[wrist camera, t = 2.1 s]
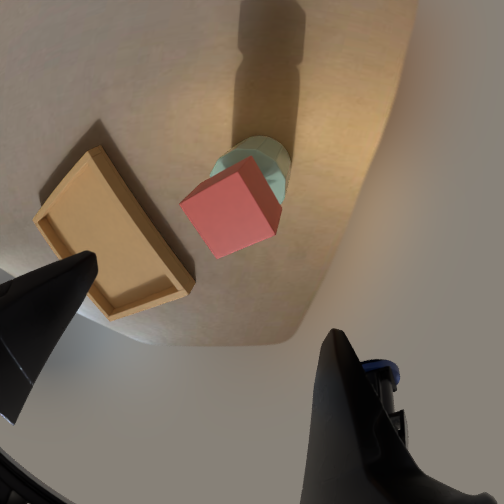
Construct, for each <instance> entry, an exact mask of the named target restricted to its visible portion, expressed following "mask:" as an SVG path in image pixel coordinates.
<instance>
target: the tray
mask: <svg viewBox="0 0 504 504" xmlns="http://www.w3.org/2000/svg"><path fill="white" fill-rule="evenodd" d="M33 222H34V223H35V225H36V226H37V228H38V230H39V231H40V233H41V234H42V236H43V237H44V239H45V240H46V241H47V243H48V244H49V246H50V247H51V249H52V250H53V252H54V253H55V254H56V256H57V257H58V259H59V260H61V259H64V258H67V257H69V256H72V255H74V254H77V253H80V252H82V251H85V250H89V251H91V252H94V253H95V254H96V256H97V263H98V275H97V277H96V279H95V280H94V282H93V284H92V286H91V287H90V289H89V291H88V293H87V296H88V297H89V298H90V299H91V300H92V302H93V303H94V304H95V305H96V306H97V307H98V309H99V310H100V311H101V312H102V313H103V314H104V315H105V317H106V318H107V319H108V320H109V321H113V320H116V319H119V318H122V317H125V316H128V315H131V314H134V313H137V312H140V311H143V310H146V309H149V308H152V307H155V306H158V305H161V304H164V303H167V302H170V301H173V300H176V299H178V298H181V297H184V296H187V295H189V294H190V292H191V290H192V288H193V287H194V285H195V283H196V282H195V281H194V279H193V278H192V277H191V275H190V274H189V273H188V271H187V270H186V269H185V267H184V266H183V265H182V263H181V262H180V261H179V259H178V258H177V257H176V255H175V254H174V253H173V251H172V250H171V248H170V247H169V246H168V244H167V243H166V242H165V240H164V239H163V237H162V236H161V235H160V233H159V232H158V230H157V229H156V228H155V226H154V225H153V223H152V222H151V220H150V219H149V218H148V216H147V215H146V213H145V212H144V210H143V209H142V208H141V206H140V205H139V203H138V202H137V200H136V199H135V197H134V196H133V194H132V193H131V191H130V190H129V188H128V187H127V185H126V184H125V182H124V181H123V179H122V178H121V176H120V175H119V173H118V171H117V170H116V168H115V167H114V165H113V164H112V162H111V161H110V159H109V157H108V156H107V154H106V153H105V151H104V149H103V148H102V146H101V145H100V146H97V147H95V148H93V149H90V150H88V151H87V152H86V153H85V154H84V155H83V156H82V157H81V158H80V160H79V161H78V162H77V163H76V164H75V165H74V166H73V168H72V169H71V170H70V171H69V172H68V173H67V175H66V176H65V177H64V178H63V180H62V181H61V182H60V183H59V184H58V186H57V187H56V188H55V190H54V191H53V192H52V193H51V195H50V196H49V197H48V199H47V200H46V201H45V203H44V204H43V205H42V207H41V208H40V210H39V211H38V212H37V214H36V215H35V217H34V218H33Z"/></svg>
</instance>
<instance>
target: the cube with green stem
mask: <svg viewBox="0 0 504 504" xmlns="http://www.w3.org/2000/svg"><path fill="white" fill-rule="evenodd" d="M179 205H180V206H181V208H182V209H183V211H184V212H185V214H186V215H187V217H188V218H189V220H190V221H191V223H192V224H193V226H194V227H195V228H196V230H197V231H198V233H199V234H200V236H201V237H202V239H203V240H204V242H205V243H206V244H207V246H208V247H209V249H210V250H211V252H212V253H213V254H214V256H215V257H216V259H218V258H221V257H223V256H226V255H228V254H231V253H233V252H235V251H238V250H240V249H243V248H245V247H248V246H250V245H253V244H255V243H257V242H260V241H262V240H265V239H267V238H270V237H272V236H275V235H276V232H277V228H278V224H279V220H280V216H281V212H282V207H281V205H280V204H279V202H278V200H277V198H276V197H275V195H274V193H273V191H272V189H271V188H270V186H269V184H268V183H267V181H266V179H265V177H264V176H263V174H262V172H261V170H260V169H259V167H258V165H257V164H256V162H255V160H254V158H253V157H252V156H249V157H247V158H245V159H243V160H241V161H240V162H238V163H236V164H234V165H232V166H230V167H228V168H227V169H225V170H223V171H221V172H219V173H218V174H216V175H214V176H212V177H211V178H209V179H207V180H205V181H204V182H202V183H200V184H199V185H198V186H197V187H196V188H195V189H194V190H193V191H192V192H191V193H190V194H189V195H188V196H187V197H186V198H185V199H183V200H182V201H181V202H180V203H179Z"/></svg>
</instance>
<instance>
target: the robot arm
mask: <svg viewBox="0 0 504 504" xmlns="http://www.w3.org/2000/svg"><path fill="white" fill-rule="evenodd" d="M97 275H98V263H97V256H96V254H95V253H94V252H91V251H89V250H85V251H82V252H80V253H77V254H74V255H72V256H69V257H67V258H64V259H61V260H59V261H56V262H54V263H51V264H48V265H46V266H43V267H41V268H38V269H36V270H34V271H31V272H29V273H26V274H24V275H21V276H19V277H17V278H14V279H13V280H10V281H7V282H5V283H3V284H0V415H1V416H3V417H4V418H5V419H6V420H7V421H8V422H10V423H11V424H12V425H14V424H15V423H16V421H17V418H18V416H19V414H20V412H21V410H22V408H23V405H24V403H25V401H26V399H27V397H28V395H29V393H30V391H31V389H32V387H33V385H34V383H35V381H36V379H37V377H38V376H39V374H40V372H41V370H42V368H43V366H44V365H45V363H46V361H47V359H48V357H49V356H50V354H51V352H52V351H53V349H54V347H55V346H56V344H57V342H58V341H59V339H60V337H61V336H62V334H63V332H64V331H65V329H66V328H67V326H68V324H69V323H70V321H71V320H72V318H73V316H74V315H75V314H76V312H77V311H78V309H79V307H80V306H81V304H82V302H83V301H84V299H85V297H86V295H87V293H88V291H89V289H90V287H91V286H92V284H93V282H94V280H95V279H96V277H97ZM395 391H397V386H396V382H395V379H394V376H393V372H392V369H391V367H390V366H385V367H382V368H378V369H375V370H371V371H367V372H365V370H364V368H363V366H362V364H361V363H360V361H359V359H358V357H357V355H356V353H355V351H354V349H353V348H352V346H351V344H350V342H349V340H348V338H347V337H346V335H345V333H344V332H343V331H342V330H339V329H334V328H333V329H331V330H330V332H329V333H328V335H327V336H326V338H325V340H324V341H323V343H322V346H321V350H320V356H319V362H318V367H317V372H316V378H315V383H314V391H313V404H312V415H311V425H310V435H309V444H308V453H307V460H306V468H305V475H304V482H303V490H302V494H301V501H300V504H497V501H496V500H495V498H494V497H493V496H491V495H490V494H488V493H486V492H484V493H481V494H478V495H468V494H465V493H462V492H460V491H458V490H456V489H454V488H451V487H449V486H447V485H445V484H443V483H441V482H439V481H437V480H435V479H433V478H431V477H429V476H428V475H426V474H425V473H424V472H423V471H421V469H420V468H419V467H418V466H417V464H416V463H415V461H414V459H413V458H412V456H411V455H410V453H409V451H408V429H407V421H406V416H405V412H404V410H400V411H398V412H394V400H393V392H395ZM398 429H400V430H398ZM27 503H29V504H75V503H73V502H72V501H70V500H69V499H67V498H65V497H64V496H62V495H61V494H59V493H58V492H56V491H55V490H53V489H52V488H50V487H49V486H47V485H46V484H45V483H43V482H42V481H41V480H39V479H38V478H36V477H35V476H34V475H32V474H31V473H30V472H29V471H27V470H26V469H25V468H24V467H22V466H21V465H20V464H19V463H17V462H16V461H15V460H14V459H13V458H12V457H11V456H9V455H8V454H7V453H6V452H5V451H4V450H3V449H2V448H1V447H0V504H27Z"/></svg>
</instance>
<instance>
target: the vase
mask: <svg viewBox="0 0 504 504" xmlns="http://www.w3.org/2000/svg"><path fill="white" fill-rule="evenodd" d="M249 156H252V157H253V158H254V160H255V162H256V164H257V165H258V167H259V169H260V170H261V172H262V174H263V176H264V177H265V179H266V181H267V183H268V184H269V186H270V188H271V189H272V191H273V193H274V195H275V197H276V198H277V200H278V202H279V204H280V205H281V203H282V202H283V200H284V198H285V195H286V191H287V187H288V183H289V179H290V171H291V161H290V157H289V154H288V152H287V151H286V149H285V148H284V147H283V145H281V144H280V143H279V142H278V141H276V140H275V139H273V138H270V137H266V136H252V137H249V138H247V139H245V140H243V141H242V142H240V143H238V144H236V145H235V146H234V147H233V148H231V149H230V150H229V151H227V152H226V153H225V154H224V155H222V156H221V157H220V158H219V159H218V160H217V162H216V164H215V166H214V168H213V170H212V172H211V173H210V178H211V177H212V176H214V175H216V174H218V173H219V172H221V171H223V170H225V169H227V168H228V167H230V166H232V165H234V164H236V163H238V162H240V161H241V160H243V159H245V158H247V157H249Z"/></svg>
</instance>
